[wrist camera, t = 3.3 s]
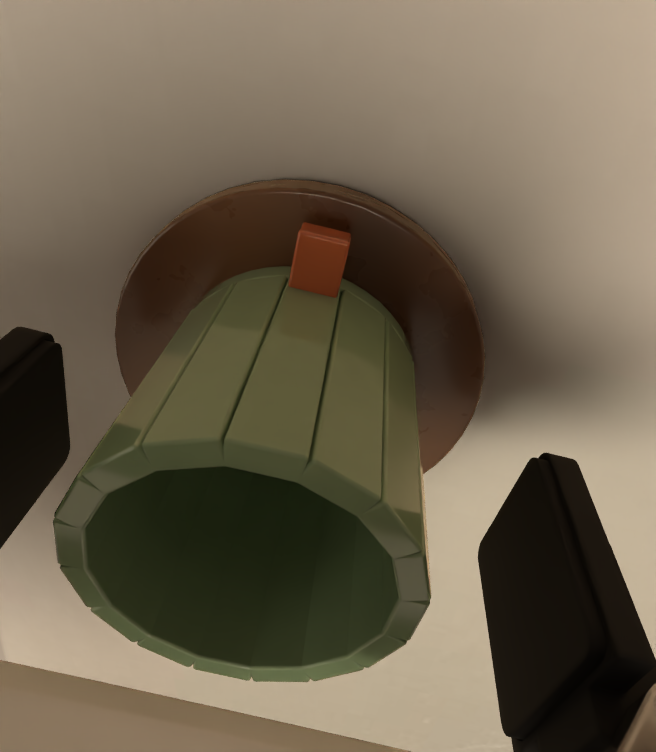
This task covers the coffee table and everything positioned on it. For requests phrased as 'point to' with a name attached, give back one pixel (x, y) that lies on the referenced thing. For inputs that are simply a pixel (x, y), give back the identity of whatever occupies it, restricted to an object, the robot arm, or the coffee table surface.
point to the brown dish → (363, 268)
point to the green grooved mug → (262, 483)
